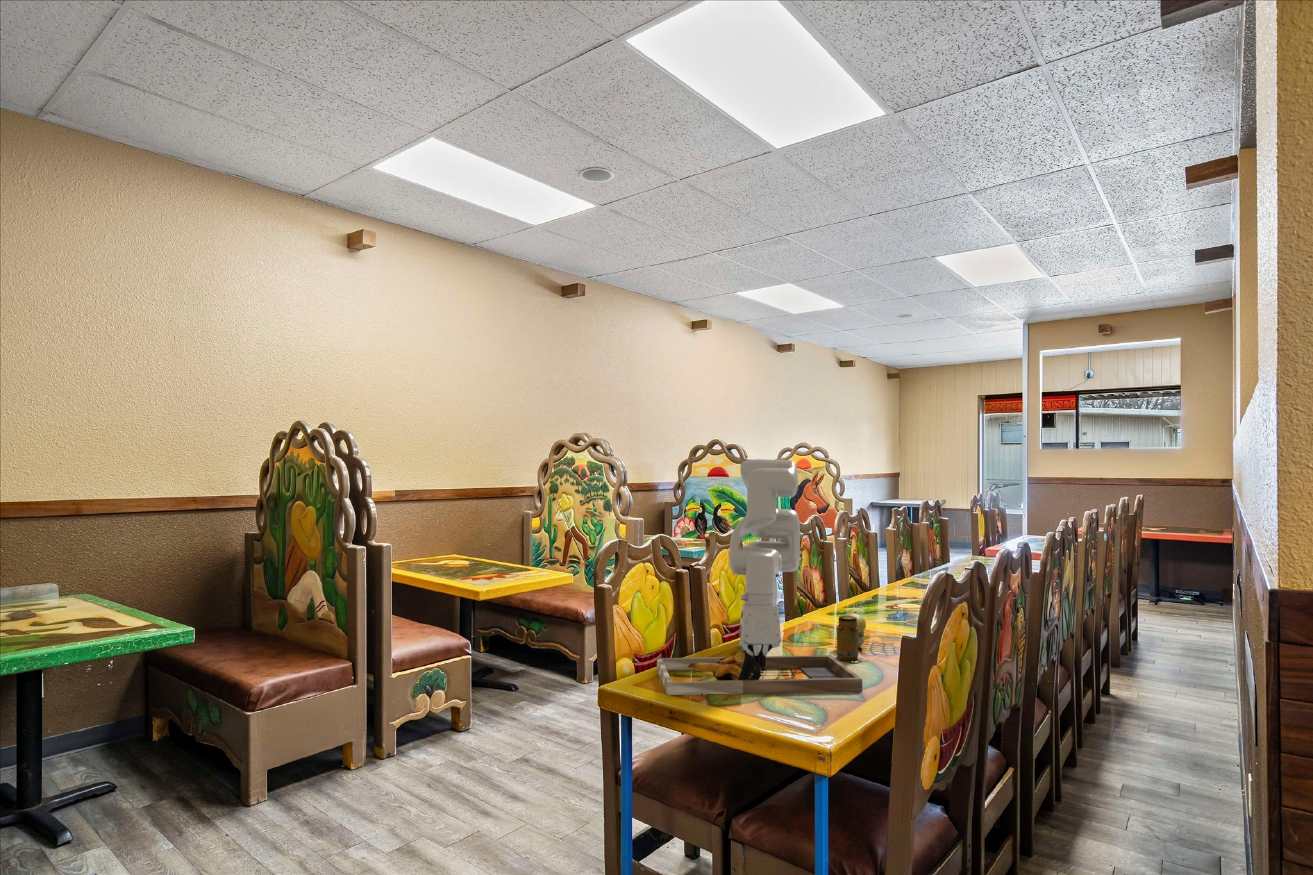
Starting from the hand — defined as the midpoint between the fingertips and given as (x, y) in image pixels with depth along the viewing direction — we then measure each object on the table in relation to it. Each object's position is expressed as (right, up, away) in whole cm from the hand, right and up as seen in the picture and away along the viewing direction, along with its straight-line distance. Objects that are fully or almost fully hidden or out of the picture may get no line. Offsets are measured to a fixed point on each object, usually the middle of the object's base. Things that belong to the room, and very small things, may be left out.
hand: (759, 669), depth 189 cm
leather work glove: (-9, -3, -2) cm, 10 cm away
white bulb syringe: (+2, -4, +20) cm, 21 cm away
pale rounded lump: (+34, -5, +34) cm, 48 cm away
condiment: (+30, -4, +22) cm, 37 cm away
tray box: (-1, -3, 0) cm, 3 cm away
